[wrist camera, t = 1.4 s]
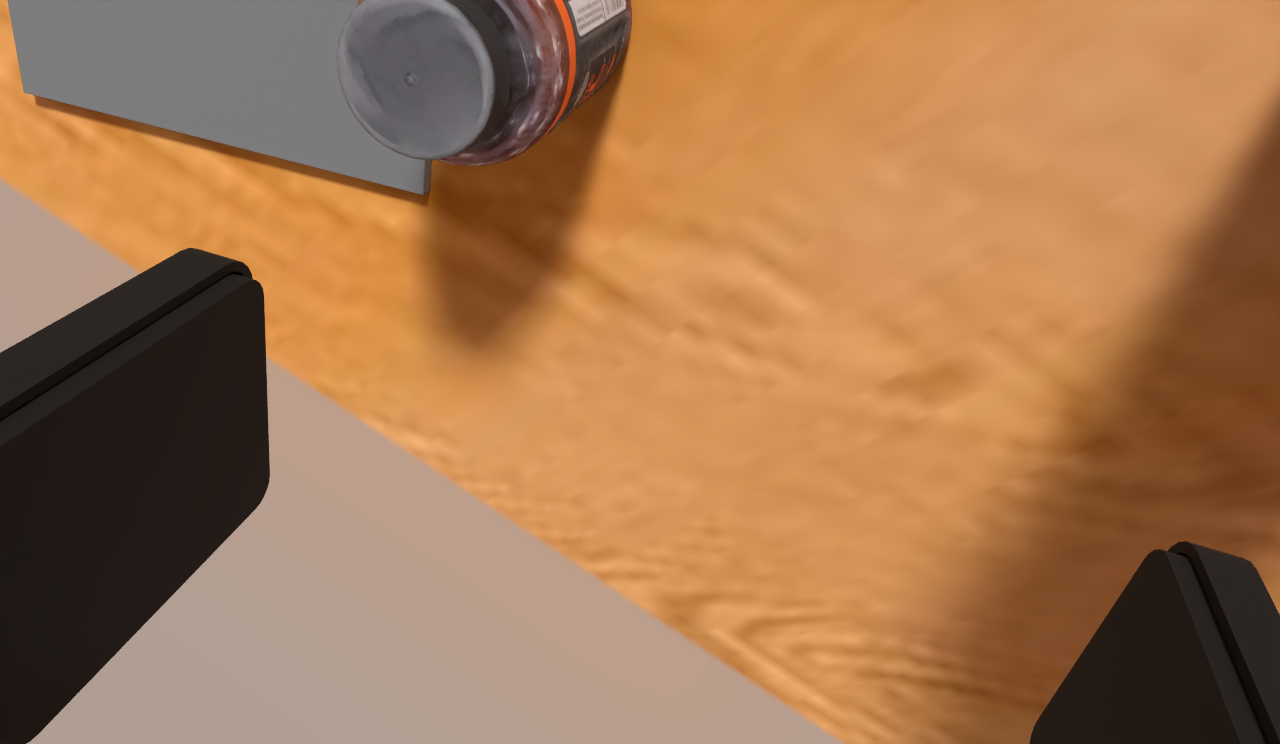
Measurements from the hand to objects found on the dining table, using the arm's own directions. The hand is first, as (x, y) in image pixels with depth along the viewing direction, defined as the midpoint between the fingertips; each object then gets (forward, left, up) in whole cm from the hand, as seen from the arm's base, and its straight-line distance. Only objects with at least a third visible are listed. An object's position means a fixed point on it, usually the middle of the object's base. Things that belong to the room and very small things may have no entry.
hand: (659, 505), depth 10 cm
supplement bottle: (+9, 0, -24) cm, 26 cm away
